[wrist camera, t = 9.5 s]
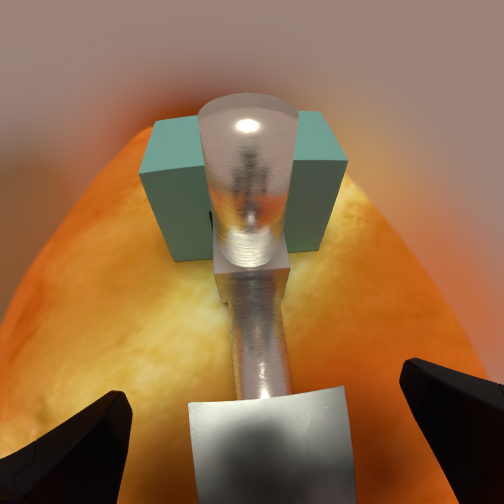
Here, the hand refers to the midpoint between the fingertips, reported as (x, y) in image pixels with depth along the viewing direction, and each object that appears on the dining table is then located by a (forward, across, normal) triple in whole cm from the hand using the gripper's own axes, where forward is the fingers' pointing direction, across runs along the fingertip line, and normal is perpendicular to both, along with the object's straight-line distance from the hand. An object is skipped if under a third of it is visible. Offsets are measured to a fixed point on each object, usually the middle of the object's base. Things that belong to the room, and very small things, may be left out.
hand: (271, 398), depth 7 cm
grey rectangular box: (+1, 0, +10) cm, 10 cm away
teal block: (+14, 0, -3) cm, 14 cm away
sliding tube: (+7, 0, +2) cm, 7 cm away
